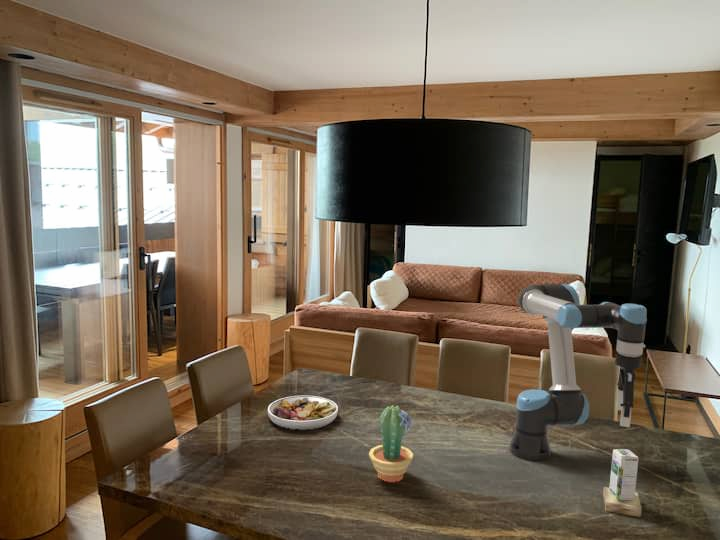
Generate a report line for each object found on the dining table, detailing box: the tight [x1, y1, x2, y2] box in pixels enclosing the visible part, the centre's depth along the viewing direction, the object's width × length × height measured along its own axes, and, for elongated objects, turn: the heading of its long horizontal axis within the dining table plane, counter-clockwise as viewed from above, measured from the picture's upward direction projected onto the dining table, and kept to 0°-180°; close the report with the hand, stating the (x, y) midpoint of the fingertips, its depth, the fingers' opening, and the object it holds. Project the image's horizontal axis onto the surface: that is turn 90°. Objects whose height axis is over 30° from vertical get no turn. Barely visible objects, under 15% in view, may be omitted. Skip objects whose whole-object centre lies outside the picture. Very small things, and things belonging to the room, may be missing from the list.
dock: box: [602, 486, 643, 518], centre depth 182 cm, size 10×10×3 cm
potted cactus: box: [368, 404, 414, 483], centre depth 197 cm, size 15×15×25 cm
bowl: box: [267, 395, 339, 431], centre depth 247 cm, size 30×30×8 cm
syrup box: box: [608, 448, 639, 500], centre depth 182 cm, size 6×6×14 cm
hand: (622, 417), depth 184 cm, fingers open, 13 cm apart
